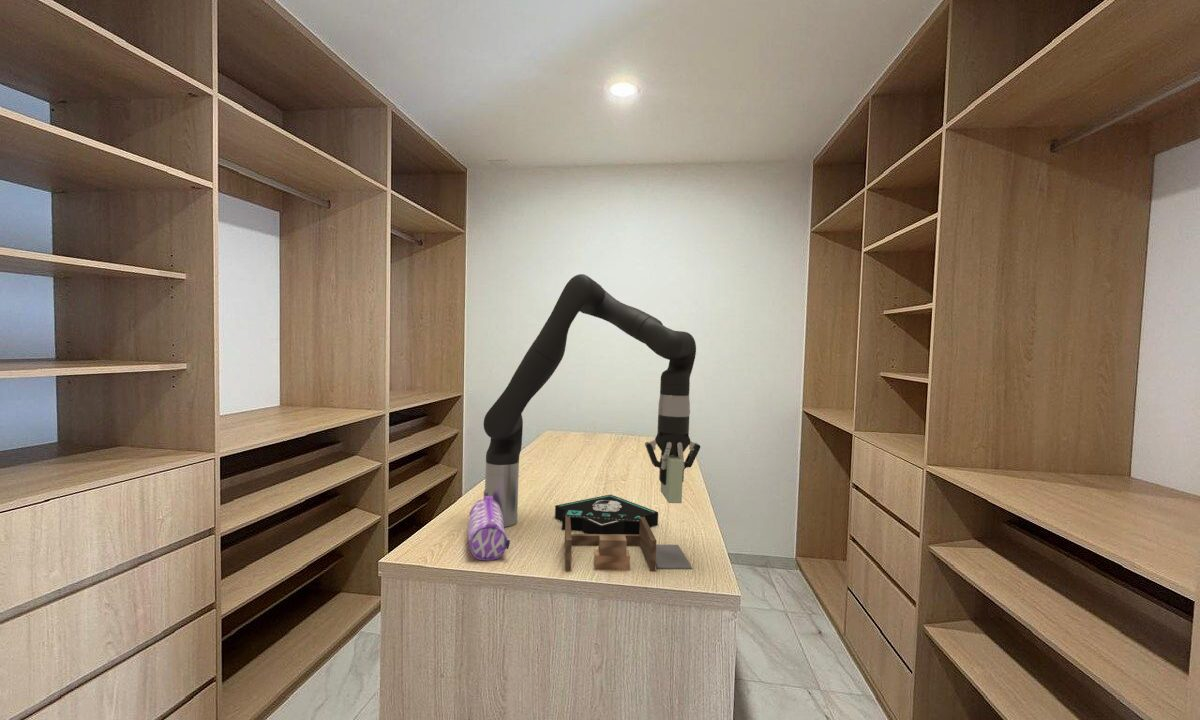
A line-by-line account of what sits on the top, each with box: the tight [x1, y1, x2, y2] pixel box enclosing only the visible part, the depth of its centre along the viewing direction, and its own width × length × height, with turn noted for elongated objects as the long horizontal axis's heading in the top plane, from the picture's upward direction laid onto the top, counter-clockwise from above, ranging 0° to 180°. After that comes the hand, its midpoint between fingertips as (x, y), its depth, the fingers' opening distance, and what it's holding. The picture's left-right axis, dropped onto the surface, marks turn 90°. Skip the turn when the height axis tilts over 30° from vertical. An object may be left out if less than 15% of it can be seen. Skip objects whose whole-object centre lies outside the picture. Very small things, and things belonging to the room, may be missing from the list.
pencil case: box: [467, 495, 511, 561], centre depth 130 cm, size 22×9×10 cm, turn 16°
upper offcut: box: [598, 535, 628, 556], centre depth 119 cm, size 6×4×4 cm, turn 94°
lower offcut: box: [593, 548, 631, 571], centre depth 120 cm, size 8×4×4 cm, turn 92°
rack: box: [563, 516, 657, 572], centre depth 125 cm, size 20×16×7 cm
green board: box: [660, 455, 684, 504], centre depth 126 cm, size 10×3×10 cm, turn 5°
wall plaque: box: [554, 494, 659, 534], centre depth 151 cm, size 30×4×30 cm
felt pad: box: [656, 544, 693, 570], centre depth 126 cm, size 8×14×1 cm, turn 5°
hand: (671, 483), depth 126 cm, fingers closed on green board, 3 cm apart
